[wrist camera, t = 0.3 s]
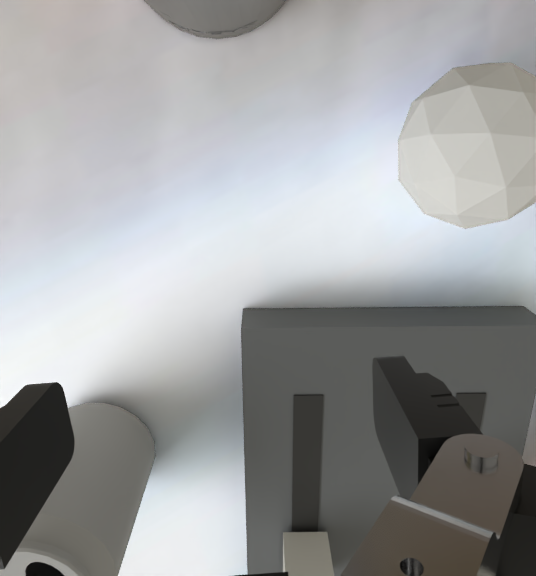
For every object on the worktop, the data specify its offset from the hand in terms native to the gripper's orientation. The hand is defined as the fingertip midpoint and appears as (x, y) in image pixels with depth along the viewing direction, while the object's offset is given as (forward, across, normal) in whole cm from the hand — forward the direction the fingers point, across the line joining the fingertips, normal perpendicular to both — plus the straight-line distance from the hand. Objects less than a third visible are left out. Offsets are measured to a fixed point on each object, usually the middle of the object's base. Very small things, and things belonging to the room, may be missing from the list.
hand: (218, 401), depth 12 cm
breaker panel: (+18, -8, +16) cm, 26 cm away
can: (+19, +11, +13) cm, 25 cm away
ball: (+18, -12, -5) cm, 22 cm away
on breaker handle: (+15, -2, +21) cm, 26 cm away
